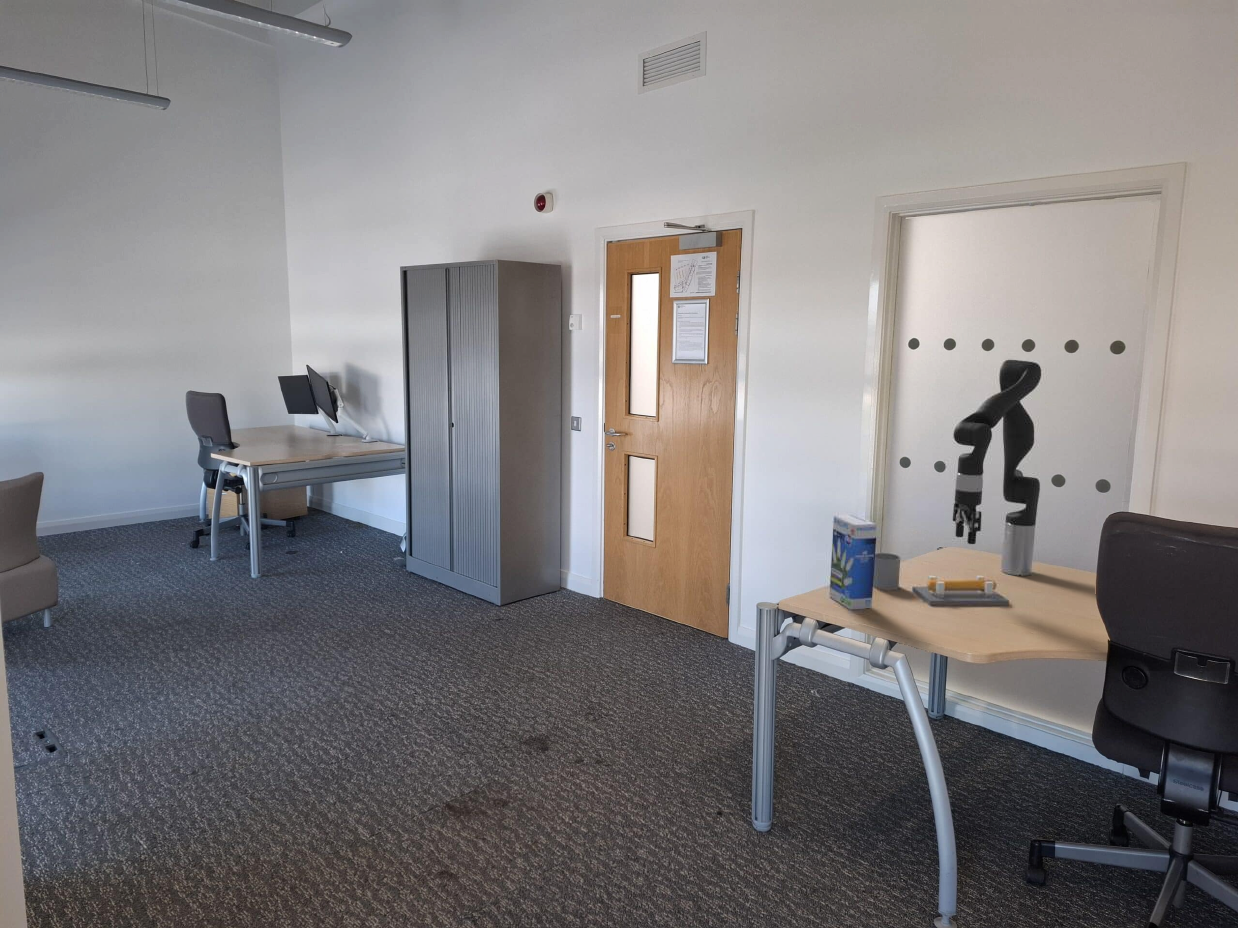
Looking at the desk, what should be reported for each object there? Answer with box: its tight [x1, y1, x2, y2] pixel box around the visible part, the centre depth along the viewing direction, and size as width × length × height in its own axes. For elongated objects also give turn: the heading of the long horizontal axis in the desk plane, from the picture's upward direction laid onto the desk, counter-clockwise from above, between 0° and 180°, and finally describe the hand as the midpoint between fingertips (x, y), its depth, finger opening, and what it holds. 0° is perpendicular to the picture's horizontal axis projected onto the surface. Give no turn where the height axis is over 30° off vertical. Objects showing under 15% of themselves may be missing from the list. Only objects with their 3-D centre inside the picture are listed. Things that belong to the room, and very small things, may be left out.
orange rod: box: [926, 579, 997, 591], centre depth 256 cm, size 21×3×3 cm, turn 92°
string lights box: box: [829, 514, 878, 611], centre depth 249 cm, size 13×8×26 cm, turn 14°
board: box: [911, 575, 1010, 607], centre depth 256 cm, size 14×24×6 cm, turn 92°
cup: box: [873, 552, 901, 592], centre depth 267 cm, size 8×8×10 cm
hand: (965, 540), depth 254 cm, fingers open, 8 cm apart
